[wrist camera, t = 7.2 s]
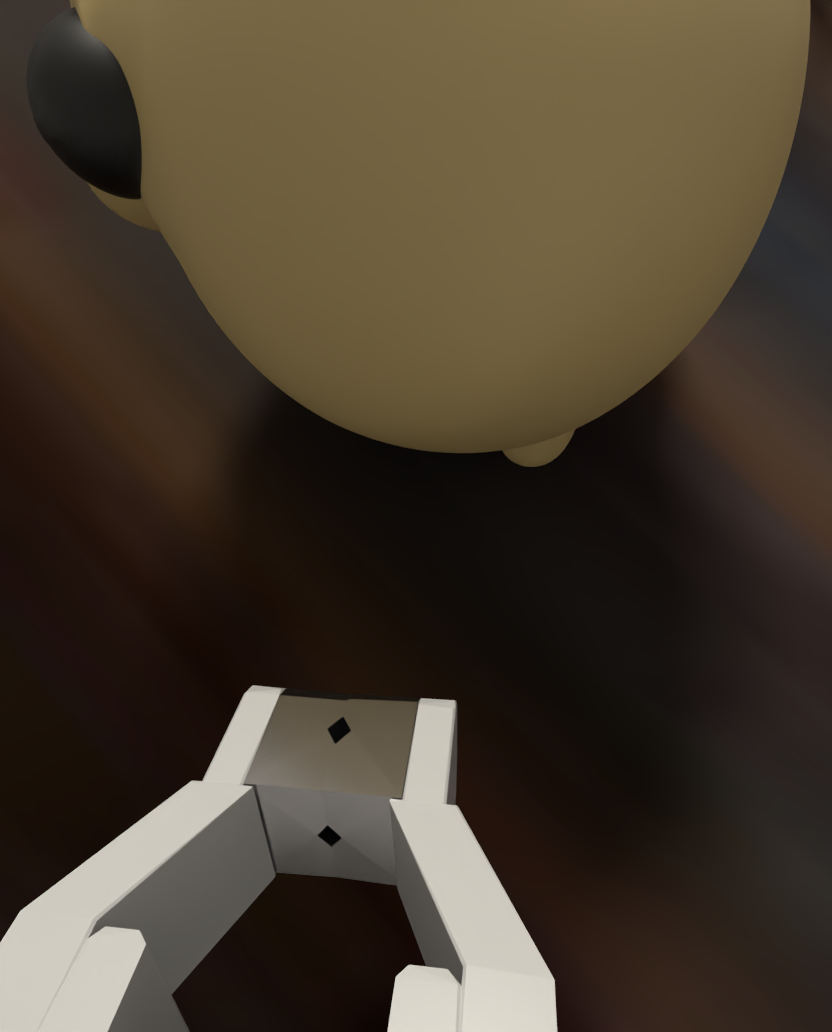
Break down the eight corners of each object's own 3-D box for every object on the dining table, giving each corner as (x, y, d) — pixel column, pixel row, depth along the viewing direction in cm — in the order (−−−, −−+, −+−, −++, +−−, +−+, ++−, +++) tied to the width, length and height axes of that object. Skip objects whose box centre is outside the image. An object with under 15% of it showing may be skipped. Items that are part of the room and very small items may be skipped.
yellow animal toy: (350, 84, 18) (171, -664, 8) (750, 251, 16) (1233, -557, 5) (147, 356, 17) (-382, -137, 7) (548, 593, 14) (691, 370, 4)
